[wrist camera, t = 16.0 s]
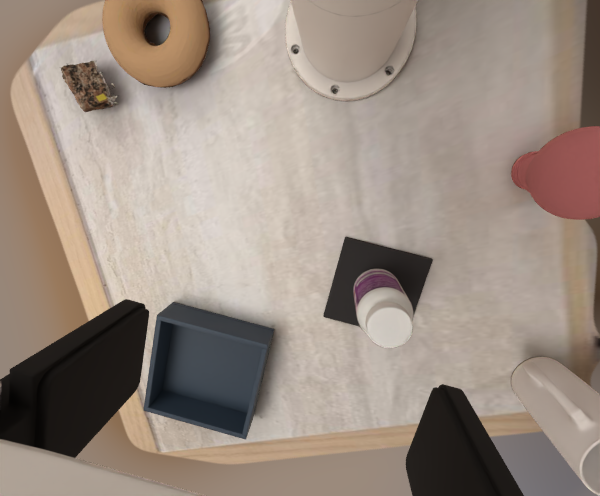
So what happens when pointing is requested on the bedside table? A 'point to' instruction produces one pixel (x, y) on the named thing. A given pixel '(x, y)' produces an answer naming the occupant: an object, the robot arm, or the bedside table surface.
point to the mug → (563, 413)
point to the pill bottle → (383, 308)
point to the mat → (364, 258)
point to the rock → (88, 86)
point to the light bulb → (564, 174)
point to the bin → (206, 369)
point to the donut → (147, 56)
